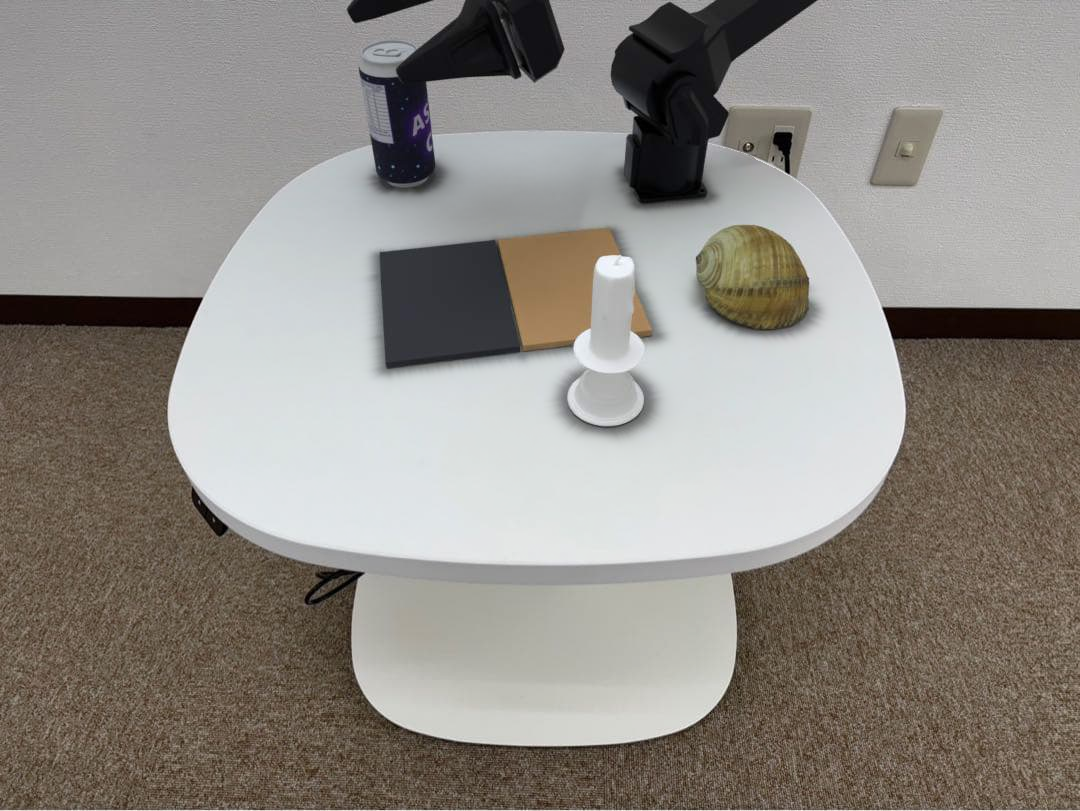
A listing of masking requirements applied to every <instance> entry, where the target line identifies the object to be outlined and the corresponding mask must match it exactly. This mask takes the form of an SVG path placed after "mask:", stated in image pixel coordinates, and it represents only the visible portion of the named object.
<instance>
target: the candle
mask: <svg viewBox="0 0 1080 811" xmlns="http://www.w3.org/2000/svg"><path fill="white" fill-rule="evenodd" d="M635 266H636V265H635V262H634V260H633V259H632V258H631V257H629V256H622V254H621V255H610V256H602V257H600V258H599V259H598V261H597V263H596V265H595V268H594V277H593V292H592V313H591V328H590V329H588V330H586V331H584V332H583V333H581V334H580V335H579V336H578V337H577V339H576V340H575V343H574V345H573V348H572V349H573V355H574V356H575V358H576V360H577V361H578V362H579V363H580V364H581V365H582V366H584V368H586V370H585V371H584V372H583V373H582V374H581V376H579V377H578V378H577V379H576V380H574V381H573V382H572V384H571V385H570V387H569V388H568V390H567V394H566V396H567V398H566V399H567V404H568V407H569V409H570V410H571V411H572V413H573V414H574V415H575V416H576V417H577V418H579V419H580V420H582V421H584V422H585V423H588V424H591V425H594V426H599V427H616V426H620V425H623V424H626V423H628V422H631V421H632V420H634V419H635V418H636V417H637V416H638V415H639V414H640V413H641V411H642V409H643V407H644V404H645V396H644V392H643V390H642V389H641V387H640V385H639V384H638V383H637V382H636V381H635V380H634V378H633V376H632V375H631V373H629V371H631V370H633V369H634V368H636V367H638V366H639V365H640V364H641V363H642V361H643V360H644V358H645V355H646V347H645V343H644V342H643V340H642V339H641V337H638V336H637V335H636V334H635V333H633V332H632V331H630V329H631V318H632V314H633V312H634V306H633V298H634V294H635V290H636V285H635V283H636V282H635V281H636V267H635Z"/></svg>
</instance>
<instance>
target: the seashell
mask: <svg viewBox="0 0 1080 811" xmlns="http://www.w3.org/2000/svg"><path fill="white" fill-rule="evenodd" d="M695 266H696V268H695V275H696V279H697V281H698V284H699V285H700V286H701V287H702V288H703V289H704V290H705V292H706V293H705V296H704V297H705V299H706V301H707V302H708V304H709V306H710V307H711V308H712V309H713V310H714V311H715V312H717V313H718V314H719V315H721V317H722V318H724V319H728V320H730V321H731V322H733V323H736V324H740V325H742V326H745V327H749V328H751V329H753V330H755V329H756V330H767V331H770V330H778V329H781V328H782V329H783V328H785V327H792V326H793V325H796V324H798V323H799V322H800V321H802V319H804V318H805V316H806V314H808V310H810V307H809V305H810V299H809V296H810V278H809V276H808V273H807V270H806V267H805V266H804V264H803V262H802V261H801V257H800V256H799V255H798V253H797V252H796V250H795V248H794V247H793V246H792V243H790V242H788V240H787V239H785V238H784V237H783V236H782V235H780V234H778V233H777V232H775V231H774V230H770V229H769V228H767V227H764V226H760V225H756V224H735V225H734V224H733V225H731V226H728V227H724V228H722V229H720V230H718V231H717V232H716V233H715V234H713V235H712V236H710V238H708V240H707V241H706V243H705V244H704V245H703V247H702V249H701V250H700V251H699V253H698V254H697V255H696V256H695Z"/></svg>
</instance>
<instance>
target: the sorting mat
mask: <svg viewBox="0 0 1080 811" xmlns="http://www.w3.org/2000/svg"><path fill="white" fill-rule="evenodd" d="M610 255H621V256H622V253H621V252H620V248H619V246H618V244H617V242H616V239H615V237H614V235H613V233H612V230H611V227H601V228H592V229H583V230H574V231H573V230H572V231H565V232H556V233H555V232H554V233H546V234H537V235H527V236H518V237H517V236H516V237H508V238H507V237H506V238H500V239H499V238H498V239H497V242H496V239H490V240H489V239H488V240H482V241H481V240H480V241H471V242H463V243H461V242H460V243H453V244H444V245H443V244H442V245H433V246H425V247H416V248H406V249H405V248H404V249H397V250H387V251H380V252H379V269H380V271H379V272H380V286H381V288H380V289H381V301H382V302H381V305H382V323H383V342H384V358H385V360H384V362H385V367H386V368H387V369H390V368H391V369H392V368H396V367H397V368H398V367H406V366H415V365H423V364H430V363H439V362H447V361H454V360H456V361H457V360H462V359H472V358H478V357H479V358H480V357H488V356H497V355H505V354H512V353H520V352H521V348H522V351H523V352H529V351H537V350H538V351H539V350H546V349H554V348H561V347H569V346H574V343H575V340H576V339H577V337H578V336H579V335H580V334H581V333H583V332H584V331H586V330H588V329H590V328H591V313H592V292H593V277H594V268H595V265H596V263H597V261H598V259H599V258H600V257H602V256H610ZM511 305H512V306H511ZM633 306H634V312H633V314H632V318H631V329H630V331H632V332H633V333H635V334H636V335H637V336H638V337H639V338H643V337H650V336H652V334H653V329H652V326H651V324H650V321H649V319H648V316H647V313H646V311H645V309H644V306H643V304H642V302H641V299H640V297H639V295H638V292H637V290H636V289H635V294H634V298H633ZM519 340H520V341H519Z"/></svg>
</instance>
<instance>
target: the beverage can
mask: <svg viewBox="0 0 1080 811" xmlns="http://www.w3.org/2000/svg"><path fill="white" fill-rule="evenodd" d="M418 48H419V47H418V46H417V45H416V44H415V43H413V42H411V41H408V40H403V39H382V40H378V41H374V42H371V43H369V44H367V45H365V46H364V47H363V48H362V49H361V51H360V57H361V58H360V62H359V65H358V73H359V79H360V84H361V90H362V97H363V102H364V107H365V108H364V109H365V114H366V119H367V125H368V126H367V127H368V131H369V137H370V142H371V148H372V155H373V160H374V167H375V172H376V175H377V176H378V177H379V178H380V179H381V180H383V181H385V182H387V184H388V185H390V186H392V187H396V188H400V189H401V188H403V189H408V188H409V189H410V188H415V187H417V186H420V185H422V184H424V183H425V182H426V181H427V180H428V179H429V178H430V177H431V175H432V174H433V173H434V172H435V170H436V168H437V167H436V166H437V165H436V157H435V148H434V138H433V130H432V121H431V114H430V112H431V111H430V102H429V94H428V86H427V82H419V83H410V84H403V83H402V82H401V81H400V79H399V77H398V75H397V74H396V68H397V67H398V66H399V65H400V64H401V63H402V62H403V61H404V60H405V59H406V58H407V57H408V56H410V55H411V54H412V53H413V52H414V51H416V50H417V49H418Z"/></svg>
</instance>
